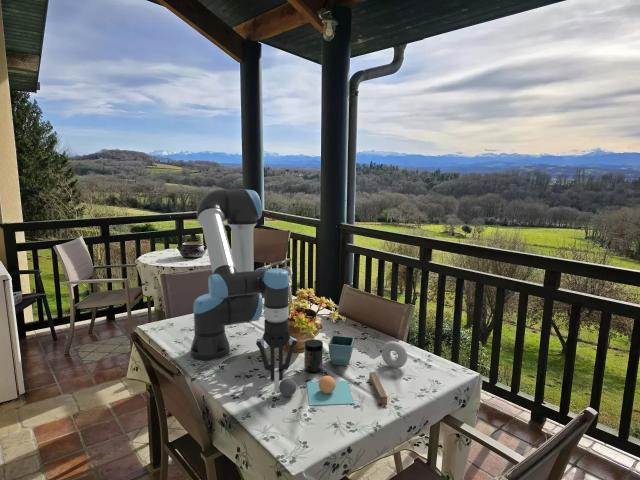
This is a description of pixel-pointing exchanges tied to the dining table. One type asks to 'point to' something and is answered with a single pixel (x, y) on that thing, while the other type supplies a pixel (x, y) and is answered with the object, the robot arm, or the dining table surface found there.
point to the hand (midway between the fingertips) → (276, 389)
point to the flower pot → (340, 349)
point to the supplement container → (313, 356)
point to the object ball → (327, 384)
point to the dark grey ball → (287, 387)
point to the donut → (398, 349)
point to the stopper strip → (378, 388)
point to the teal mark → (334, 398)
